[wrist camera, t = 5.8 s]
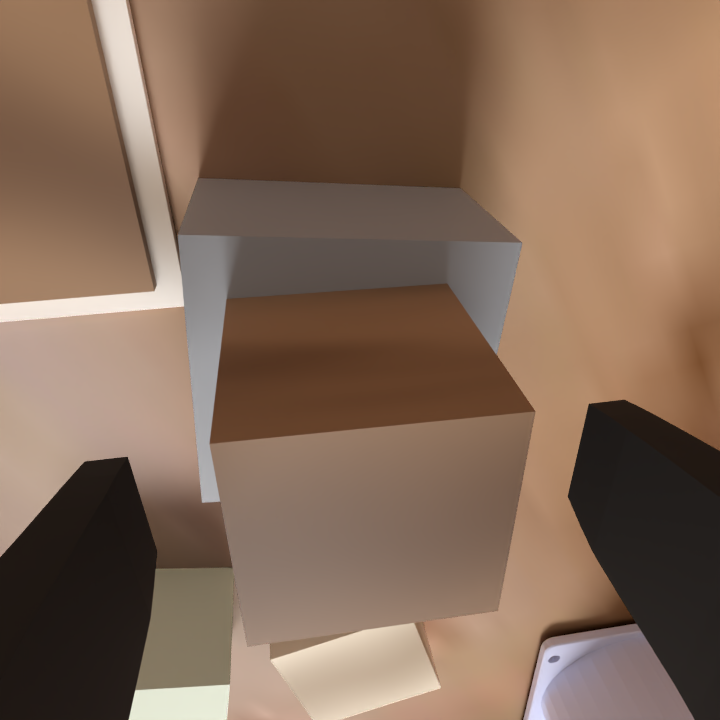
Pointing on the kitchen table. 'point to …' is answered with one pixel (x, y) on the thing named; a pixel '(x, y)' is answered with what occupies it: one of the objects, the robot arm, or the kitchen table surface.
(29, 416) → the kitchen table surface
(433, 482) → the walnut cube
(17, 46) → the swatch
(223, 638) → the sage cube
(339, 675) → the birch cube
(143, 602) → the robot arm
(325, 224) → the slate base
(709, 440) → the kitchen table surface
